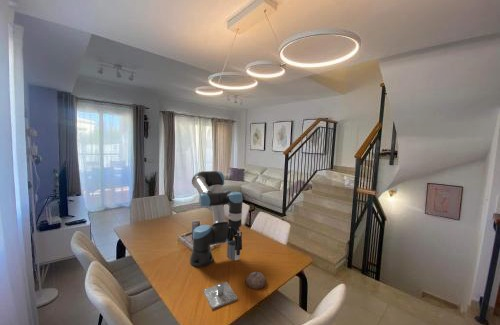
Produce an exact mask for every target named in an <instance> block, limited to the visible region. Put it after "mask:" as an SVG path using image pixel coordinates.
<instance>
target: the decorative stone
mask: <svg viewBox="0 0 500 325" xmlns="http://www.w3.org/2000/svg"><path fill="white" fill-rule="evenodd" d="M245 285H247V287H249V288H250V289H252V290H261V289H263V288H264V287H266V285H267V278H266V277H265V275H264V274H263V273H262V272H259V271H252V272H251V273H249V274H248V275H247V276H246V278H245Z"/></svg>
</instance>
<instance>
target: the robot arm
mask: <svg viewBox="0 0 500 325" xmlns="http://www.w3.org/2000/svg"><path fill="white" fill-rule="evenodd" d="M191 184H192V187H193V188H195V189H196V190H197V192H198V194H199V198H198V201H199V206H200V207H202V208H205V207H206V208H207V207H211V209H212V210H211V211H212V219H213V222H212V224H211V225H209V224H201V225H199V226H196V227H195V228H194V229H193V234H192V252H191V254H190V258H189V262H190V265H191V266H193V267H196V268H197V267H198V268H202V267H206V266H209V265H211V263H212V262H213V260H214V259H213V258H214V256H213V255H214V254H213V253H212V250H211V246H213V245H218V244H225V243H228V242H229V241H231V240H235V246H236V249H235V260H234V261H238V260H240V258H241V257H240V256H241V251H242V250H243V238H242V237H243V232H242V231H240V227H241V226H242V218H243V217H242V216H243V201H244V200H243V194H242V192H239V191H231V190H225V191H223V192H222V188H223V187H224V185H225V177H224V174H223V172H222V171H220V170H219V171H218V170H215V171H214V170H213V171H212V170H211V171H210V170H209V171H199V172H197V173H196V174H194V175H193V176H192V179H191ZM225 205H228V220H227V219H226V214H225V207H224V206H225Z"/></svg>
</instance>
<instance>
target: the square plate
mask: <svg viewBox="0 0 500 325" xmlns="http://www.w3.org/2000/svg"><path fill="white" fill-rule="evenodd" d="M202 292H203V294H204V297H205V298H206V300H207V303H208V305H209V307H210V309H211V310H215V309H219V308H220V307H222V306H226V305H228V304H231V303H232V302H235V301H238V300H239V298H238V296H237V294H236V293H235V291H233V288H232V287H231V286H230V284H229V283H228V281H225V282H218V283H216V285H213V286H211V287H210V286H209V287H208V288H204V289H202Z"/></svg>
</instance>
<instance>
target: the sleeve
mask: <svg viewBox="0 0 500 325" xmlns="http://www.w3.org/2000/svg"><path fill="white" fill-rule="evenodd" d="M226 248H227V251H226V258H227V259H228V260H232V261H236V260H235V249H236V246H235V239H233V240H231V241H229V242H227V247H226Z"/></svg>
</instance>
